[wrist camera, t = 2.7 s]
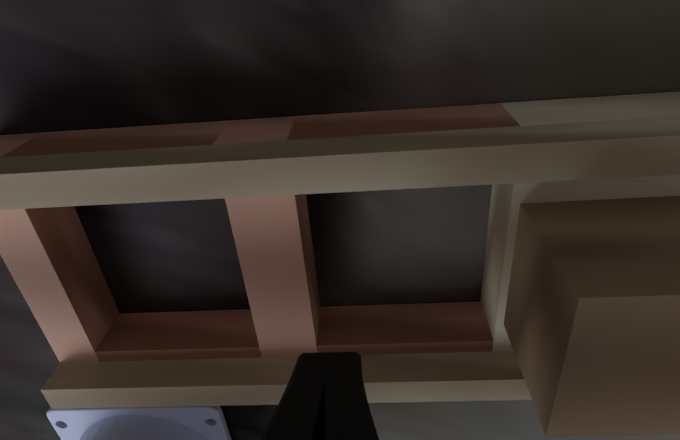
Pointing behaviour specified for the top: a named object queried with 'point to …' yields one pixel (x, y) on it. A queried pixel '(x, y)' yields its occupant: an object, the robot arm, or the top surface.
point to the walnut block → (598, 314)
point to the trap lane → (306, 241)
